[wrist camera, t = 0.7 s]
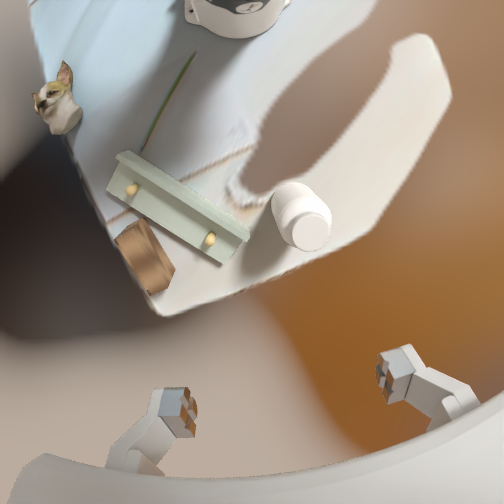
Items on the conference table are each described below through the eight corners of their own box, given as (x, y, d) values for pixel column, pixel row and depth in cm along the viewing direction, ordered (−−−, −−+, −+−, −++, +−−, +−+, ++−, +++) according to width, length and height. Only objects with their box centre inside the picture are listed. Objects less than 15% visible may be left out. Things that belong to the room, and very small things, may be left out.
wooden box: (127, 226, 51) (113, 240, 44) (144, 216, 50) (131, 230, 44) (159, 276, 55) (150, 295, 49) (175, 269, 55) (167, 288, 49)
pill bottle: (275, 229, 52) (288, 267, 39) (265, 186, 49) (275, 211, 35) (317, 219, 52) (343, 253, 38) (309, 176, 48) (336, 197, 35)
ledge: (110, 187, 48) (97, 193, 43) (129, 150, 45) (117, 153, 40) (224, 260, 54) (223, 273, 50) (249, 227, 52) (250, 237, 47)
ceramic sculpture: (36, 153, 35) (11, 94, 31) (63, 149, 44) (38, 96, 39) (76, 111, 34) (48, 52, 29) (101, 114, 42) (73, 61, 37)
